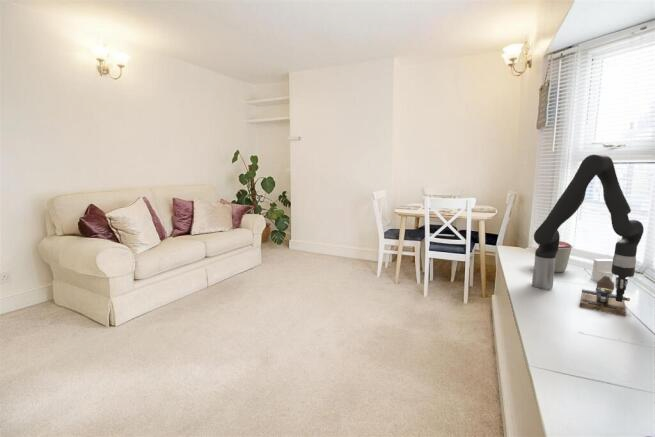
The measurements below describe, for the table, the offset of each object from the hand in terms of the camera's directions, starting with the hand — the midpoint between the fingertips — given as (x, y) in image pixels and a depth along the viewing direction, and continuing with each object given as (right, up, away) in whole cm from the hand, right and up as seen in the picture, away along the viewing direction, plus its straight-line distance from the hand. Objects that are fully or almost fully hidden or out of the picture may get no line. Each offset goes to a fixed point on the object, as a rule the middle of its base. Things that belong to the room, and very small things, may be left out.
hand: (618, 301), depth 145 cm
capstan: (-2, -2, +6) cm, 7 cm away
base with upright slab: (+25, +2, +38) cm, 46 cm away
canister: (+10, +5, +57) cm, 58 cm away
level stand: (-2, -4, +7) cm, 8 cm away
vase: (+12, -1, +21) cm, 24 cm away
